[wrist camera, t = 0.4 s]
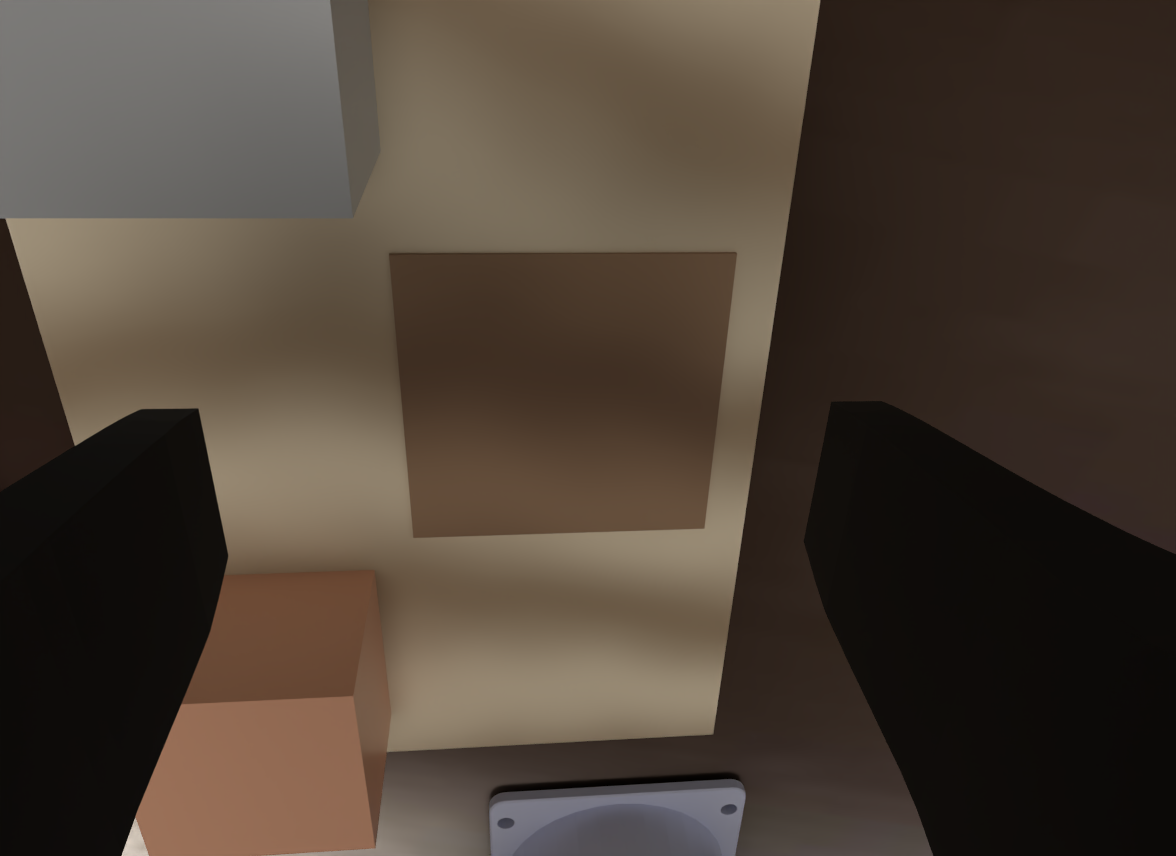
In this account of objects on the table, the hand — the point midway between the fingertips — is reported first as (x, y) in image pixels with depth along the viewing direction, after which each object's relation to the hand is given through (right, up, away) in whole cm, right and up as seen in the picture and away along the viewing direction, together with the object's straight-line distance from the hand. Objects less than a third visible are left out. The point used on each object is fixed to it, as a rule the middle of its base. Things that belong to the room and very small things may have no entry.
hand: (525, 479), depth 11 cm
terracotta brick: (-7, -5, +12) cm, 15 cm away
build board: (-3, +2, +10) cm, 10 cm away
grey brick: (-6, +8, +5) cm, 11 cm away
